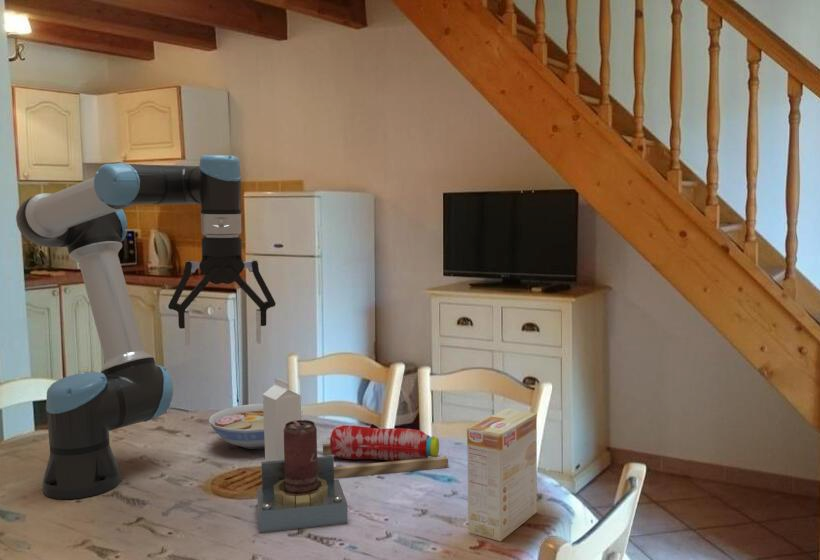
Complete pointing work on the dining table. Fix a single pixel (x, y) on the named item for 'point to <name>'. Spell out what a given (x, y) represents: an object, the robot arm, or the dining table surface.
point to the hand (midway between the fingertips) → (223, 343)
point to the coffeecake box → (502, 473)
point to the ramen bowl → (241, 425)
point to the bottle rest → (386, 466)
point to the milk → (278, 417)
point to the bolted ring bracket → (299, 499)
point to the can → (300, 457)
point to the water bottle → (382, 443)
